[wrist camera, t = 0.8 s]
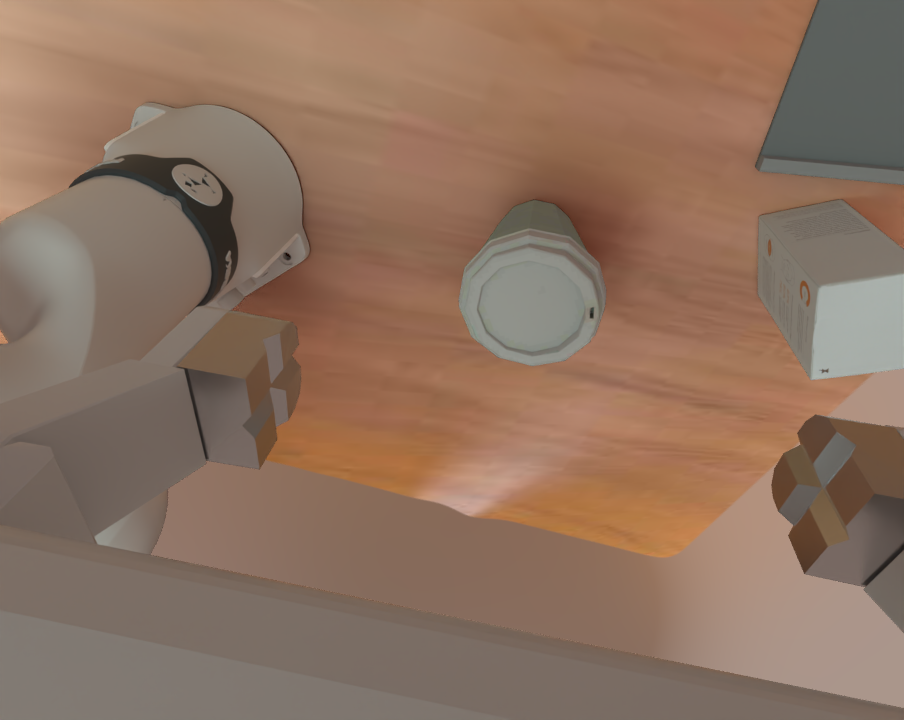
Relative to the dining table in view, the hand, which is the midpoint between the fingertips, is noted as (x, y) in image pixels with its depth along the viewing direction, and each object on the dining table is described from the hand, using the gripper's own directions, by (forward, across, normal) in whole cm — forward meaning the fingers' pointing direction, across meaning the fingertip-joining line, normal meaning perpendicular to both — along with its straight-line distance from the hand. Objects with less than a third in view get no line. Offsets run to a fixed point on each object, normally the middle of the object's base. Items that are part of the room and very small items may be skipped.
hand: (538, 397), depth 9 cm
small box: (+41, +24, -12) cm, 49 cm away
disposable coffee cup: (+41, +2, -14) cm, 43 cm away
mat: (+41, +23, +2) cm, 47 cm away
